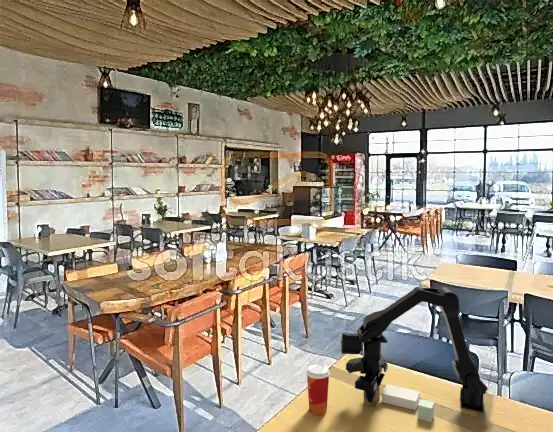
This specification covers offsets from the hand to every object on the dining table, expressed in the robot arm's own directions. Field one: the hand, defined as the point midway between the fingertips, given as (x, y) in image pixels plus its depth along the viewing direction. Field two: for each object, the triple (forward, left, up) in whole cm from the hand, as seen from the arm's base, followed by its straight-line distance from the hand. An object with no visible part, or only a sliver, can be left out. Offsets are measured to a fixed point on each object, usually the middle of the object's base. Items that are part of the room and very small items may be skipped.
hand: (371, 399), depth 144 cm
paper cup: (+14, +13, -1) cm, 19 cm away
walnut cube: (0, 0, -1) cm, 1 cm away
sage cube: (-18, +1, -1) cm, 18 cm away
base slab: (-9, -5, -1) cm, 10 cm away
